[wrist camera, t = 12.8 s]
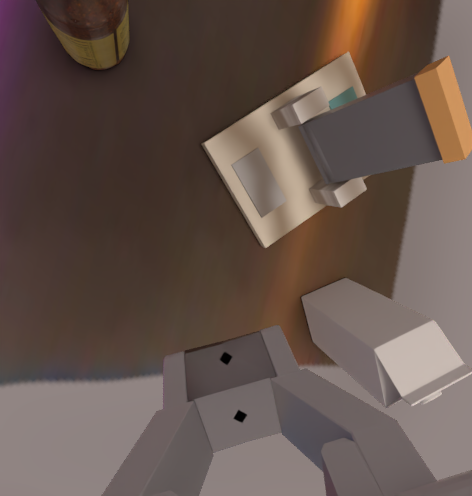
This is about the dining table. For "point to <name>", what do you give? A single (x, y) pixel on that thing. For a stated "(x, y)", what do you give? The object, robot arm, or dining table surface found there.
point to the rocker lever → (392, 127)
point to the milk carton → (382, 343)
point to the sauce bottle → (90, 29)
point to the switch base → (285, 154)
